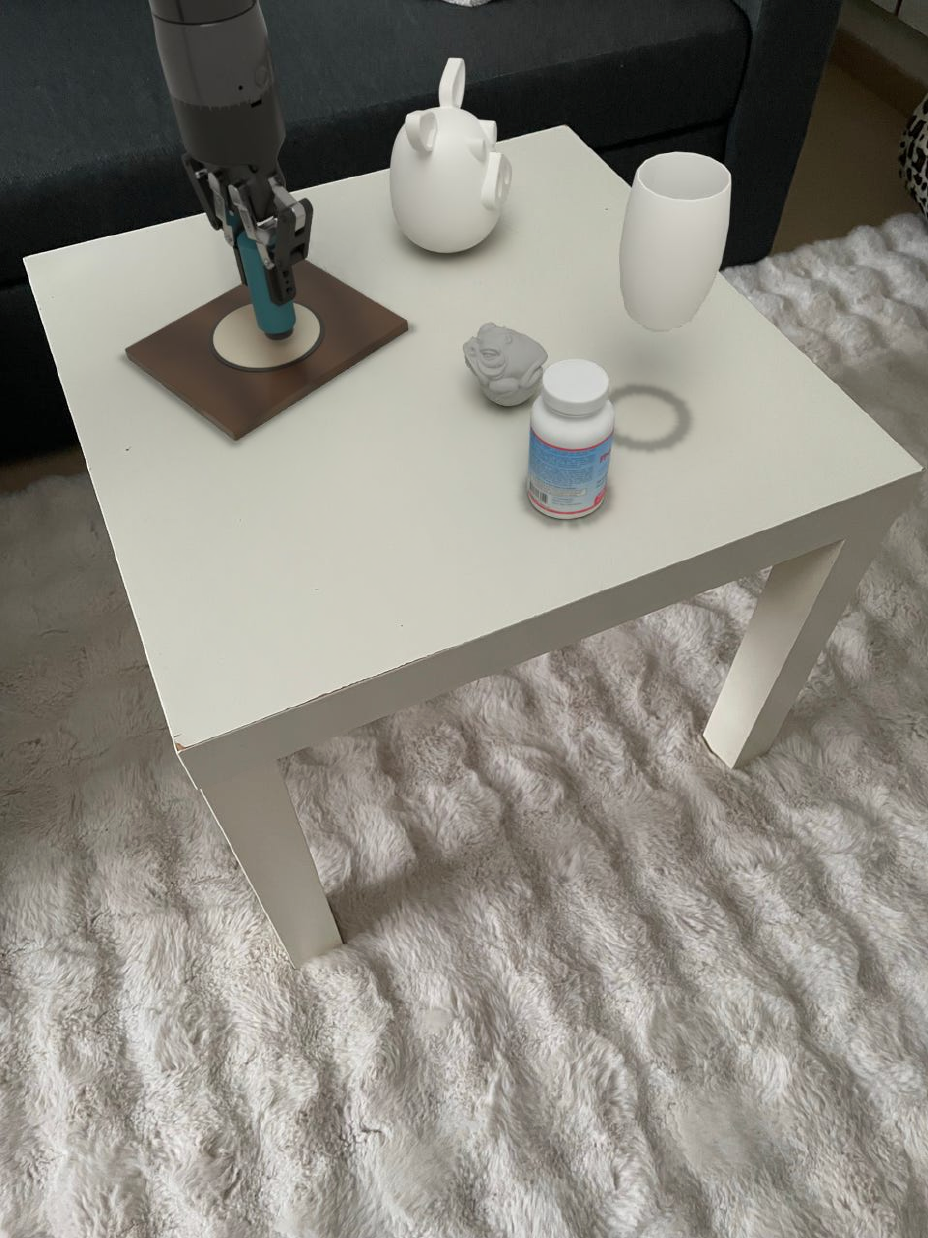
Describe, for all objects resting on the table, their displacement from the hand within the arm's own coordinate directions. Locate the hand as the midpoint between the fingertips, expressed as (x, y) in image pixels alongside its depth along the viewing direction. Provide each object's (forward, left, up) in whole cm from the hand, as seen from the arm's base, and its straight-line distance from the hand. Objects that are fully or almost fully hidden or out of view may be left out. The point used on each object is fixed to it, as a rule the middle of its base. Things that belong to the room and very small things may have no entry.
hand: (269, 290), depth 78 cm
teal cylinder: (0, 0, -4) cm, 4 cm away
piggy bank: (+23, +1, -7) cm, 24 cm away
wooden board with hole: (0, +2, -6) cm, 7 cm away
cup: (+15, -29, -7) cm, 33 cm away
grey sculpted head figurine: (+9, -19, -7) cm, 22 cm away
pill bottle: (+4, -30, -7) cm, 31 cm away
